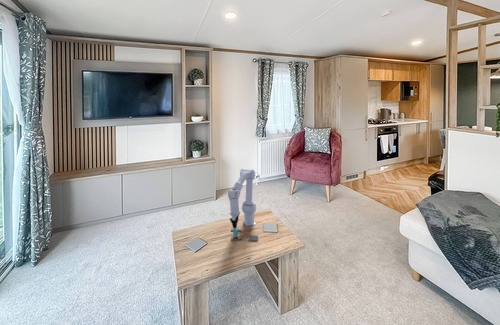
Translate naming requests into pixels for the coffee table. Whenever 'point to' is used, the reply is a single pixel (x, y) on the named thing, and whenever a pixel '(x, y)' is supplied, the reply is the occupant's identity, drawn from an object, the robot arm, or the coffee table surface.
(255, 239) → the mat
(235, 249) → the coffee table surface
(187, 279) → the coffee table surface
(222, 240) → the coffee table surface
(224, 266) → the coffee table surface
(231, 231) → the stand
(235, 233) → the teal notched block
